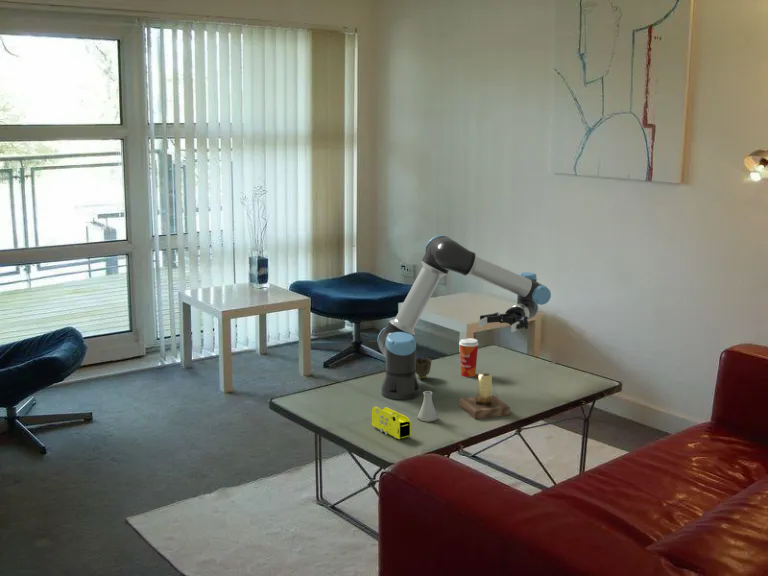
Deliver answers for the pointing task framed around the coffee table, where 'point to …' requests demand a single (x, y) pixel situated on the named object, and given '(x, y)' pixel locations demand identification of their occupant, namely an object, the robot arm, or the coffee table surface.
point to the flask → (427, 408)
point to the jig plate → (484, 408)
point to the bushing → (484, 389)
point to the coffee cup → (468, 356)
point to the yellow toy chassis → (391, 422)
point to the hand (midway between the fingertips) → (495, 326)
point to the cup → (422, 367)
